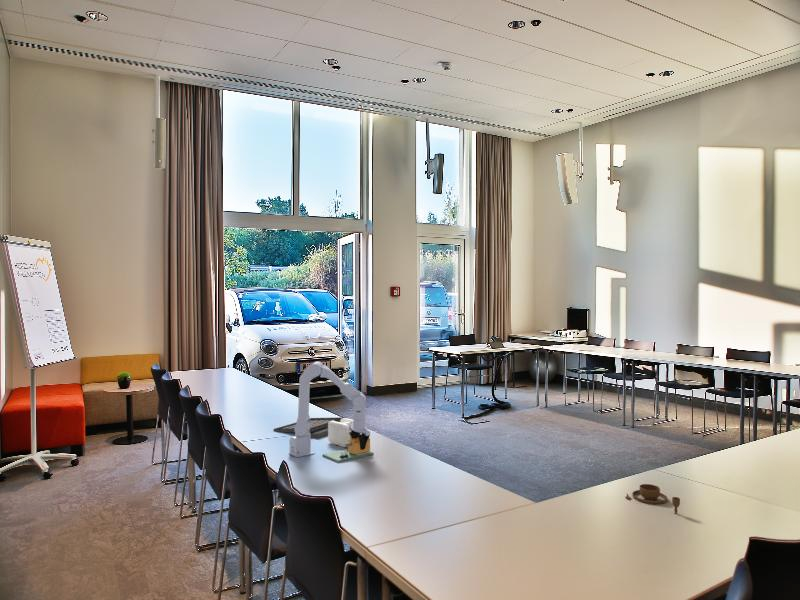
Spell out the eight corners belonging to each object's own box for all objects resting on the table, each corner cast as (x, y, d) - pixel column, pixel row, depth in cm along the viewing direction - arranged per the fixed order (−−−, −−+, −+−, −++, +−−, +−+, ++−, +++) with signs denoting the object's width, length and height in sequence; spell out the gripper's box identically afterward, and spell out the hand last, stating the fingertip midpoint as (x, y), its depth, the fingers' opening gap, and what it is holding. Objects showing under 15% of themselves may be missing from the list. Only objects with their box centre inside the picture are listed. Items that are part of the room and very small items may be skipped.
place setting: (673, 497, 212) (673, 481, 212) (682, 517, 193) (683, 500, 193) (623, 492, 218) (623, 477, 217) (627, 511, 199) (628, 494, 198)
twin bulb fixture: (341, 458, 256) (341, 451, 256) (339, 457, 257) (339, 451, 257) (348, 456, 259) (348, 450, 259) (347, 456, 260) (347, 449, 260)
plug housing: (349, 455, 259) (349, 442, 259) (343, 453, 263) (343, 440, 263) (370, 450, 267) (370, 438, 267) (364, 448, 271) (363, 436, 271)
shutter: (275, 441, 311) (318, 442, 295) (273, 429, 311) (316, 428, 295) (312, 426, 338) (354, 426, 322) (311, 415, 338) (353, 414, 322)
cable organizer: (362, 444, 283) (362, 421, 283) (346, 448, 276) (346, 425, 276) (342, 439, 294) (342, 417, 294) (326, 443, 286) (326, 420, 286)
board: (338, 462, 253) (338, 460, 253) (322, 456, 263) (322, 453, 263) (373, 454, 266) (373, 452, 266) (357, 448, 276) (357, 446, 276)
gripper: (375, 420, 263) (375, 449, 263) (357, 415, 274) (357, 443, 274) (363, 423, 258) (363, 452, 259) (345, 417, 269) (345, 445, 270)
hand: (359, 448), depth 266 cm, fingers closed on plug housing, 5 cm apart
